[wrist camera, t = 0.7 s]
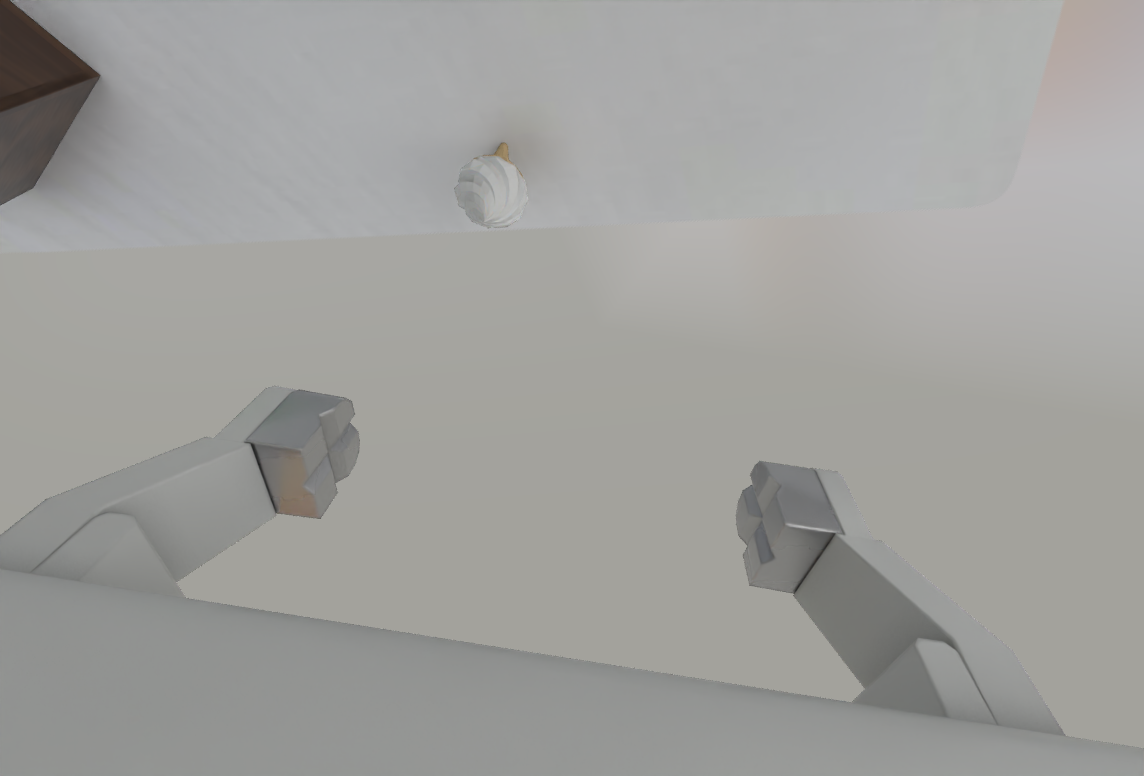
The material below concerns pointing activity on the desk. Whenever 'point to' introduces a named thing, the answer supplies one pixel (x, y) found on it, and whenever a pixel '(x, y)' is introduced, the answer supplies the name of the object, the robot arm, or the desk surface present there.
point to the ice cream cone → (492, 190)
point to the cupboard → (34, 98)
